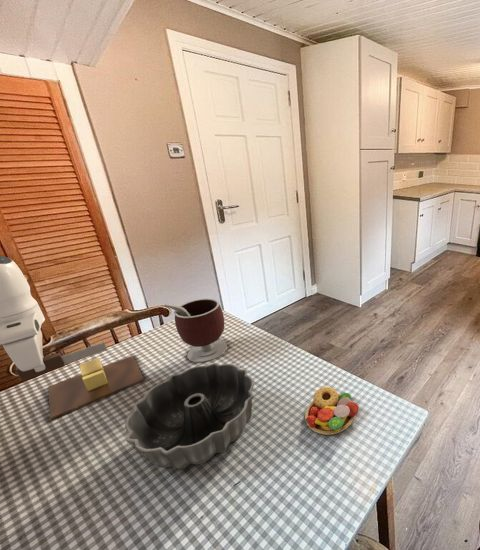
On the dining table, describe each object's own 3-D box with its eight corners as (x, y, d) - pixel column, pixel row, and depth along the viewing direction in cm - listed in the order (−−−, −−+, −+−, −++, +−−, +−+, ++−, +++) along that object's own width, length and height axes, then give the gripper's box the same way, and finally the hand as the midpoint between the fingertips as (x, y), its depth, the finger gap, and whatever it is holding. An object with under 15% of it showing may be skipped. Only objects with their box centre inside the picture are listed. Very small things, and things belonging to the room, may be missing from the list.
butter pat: (87, 391, 85) (82, 380, 84) (87, 388, 86) (82, 377, 85) (107, 383, 88) (103, 372, 87) (107, 380, 89) (102, 369, 88)
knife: (21, 381, 76) (15, 370, 74) (22, 377, 77) (15, 366, 76) (107, 351, 87) (103, 341, 86) (106, 348, 88) (102, 338, 87)
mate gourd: (229, 336, 112) (219, 287, 105) (230, 357, 100) (218, 304, 93) (182, 346, 106) (167, 295, 99) (176, 370, 95) (160, 314, 87)
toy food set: (321, 391, 86) (321, 382, 85) (364, 403, 82) (364, 394, 80) (295, 428, 75) (294, 418, 73) (344, 445, 70) (343, 435, 69)
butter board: (51, 421, 77) (43, 406, 75) (49, 389, 87) (42, 375, 86) (144, 381, 90) (139, 367, 88) (133, 358, 101) (128, 345, 99)
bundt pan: (205, 503, 59) (194, 467, 55) (107, 465, 66) (91, 432, 62) (279, 403, 82) (275, 373, 78) (201, 383, 89) (194, 355, 86)
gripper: (1, 310, 78) (24, 354, 83) (-7, 342, 64) (22, 393, 70) (35, 302, 82) (56, 345, 87) (35, 330, 69) (59, 379, 74)
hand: (41, 366), depth 78 cm, fingers closed on knife, 2 cm apart
